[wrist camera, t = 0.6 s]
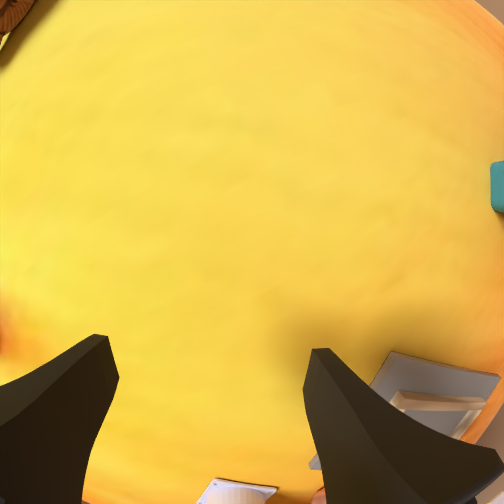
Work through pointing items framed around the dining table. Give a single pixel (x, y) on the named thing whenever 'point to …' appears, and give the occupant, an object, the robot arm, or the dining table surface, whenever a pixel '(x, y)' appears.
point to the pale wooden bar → (319, 497)
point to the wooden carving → (12, 14)
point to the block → (497, 186)
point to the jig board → (432, 393)
